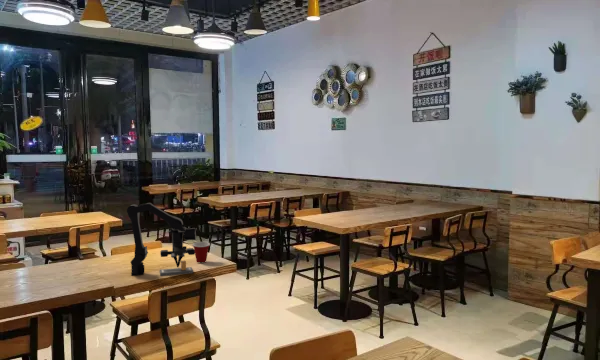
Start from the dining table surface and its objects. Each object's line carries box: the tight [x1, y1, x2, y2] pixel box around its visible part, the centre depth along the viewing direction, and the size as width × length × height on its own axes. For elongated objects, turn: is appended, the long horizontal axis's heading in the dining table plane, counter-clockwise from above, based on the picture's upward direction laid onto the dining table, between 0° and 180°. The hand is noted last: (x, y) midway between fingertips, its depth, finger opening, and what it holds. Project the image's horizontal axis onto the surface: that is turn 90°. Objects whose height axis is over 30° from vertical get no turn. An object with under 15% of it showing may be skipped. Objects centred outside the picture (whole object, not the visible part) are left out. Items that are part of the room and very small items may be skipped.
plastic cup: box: [192, 241, 211, 263], centre depth 279 cm, size 11×11×12 cm
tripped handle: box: [180, 260, 187, 270], centre depth 256 cm, size 2×4×4 cm, turn 20°
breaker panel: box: [159, 266, 194, 277], centre depth 255 cm, size 18×8×2 cm, turn 110°
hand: (177, 267), depth 255 cm, fingers closed
